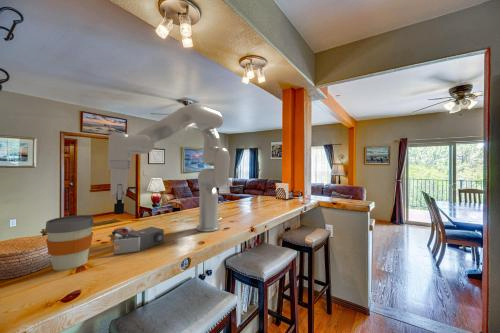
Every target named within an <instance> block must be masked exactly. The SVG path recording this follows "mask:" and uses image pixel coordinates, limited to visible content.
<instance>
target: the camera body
mask: <svg viewBox="0 0 500 333" xmlns="http://www.w3.org/2000/svg"><path fill="white" fill-rule="evenodd" d="M164 231H165V230H164V228H159V227H155V226H154V227H153V226H149V227H146V228H141V229H139V230H135V231H134V232H131V233H128V239H130V238H138V237H140V251H139V252H141V251H143V250H146V249H149V248H151V247H154V246H157V245H160V244H162V243H164V242H165V241H164V236H165V235H164V234H165V233H164Z"/></svg>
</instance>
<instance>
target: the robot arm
mask: <svg viewBox="0 0 500 333" xmlns="http://www.w3.org/2000/svg"><path fill="white" fill-rule="evenodd" d="M223 123H224V118H223V115H222V114H221V113H220V112H219V111H217V110H215V109H212V108H209V107H206V106H204V105H201V104H198V103H192V104H188V105H186V106H182V107H180V108H179V109H176V110H175V111H173V112H172V113H170V114H168V115H167V116H165V117H163V118H162V119H159V120H158V121H156V122H154V123H153V124H151V125H150V126H147V127H145V128H144V129H142V130H141V131H138V132H137V133H135V134H128V133H123V132H113V133H110V134H109V135H108V157H107V158H108V161H107V165H108V166H107V167H108V168H107V170H108V171H109V170H111V172H110V197H113V196H114V203H113V205H114V206H113V215H123V214H124V213H125V203H124V199H125V198H124V197H125V196H126V195H127V188H128V171H130V170H132V155H143V154H144V155H145V154H148V153H151V152H152V151H153V150H154V148H155V143H158V142H161V141H163V140H166V139H168V138H171V137H173V136H176V135H177V134H178V133H180V132H181V131H183V129H186V128H187V127H188V126H191V125H192V124H195V125H196V127H197V129H198V130H199V131H200V132H201V134H202V137H203V149H202V162H203V164H204V165H206V166H209V168H204V169H202V170H200V171H199V173H198V175H197V182H198V189H199V190H198V191H199V199H198V201H199V206H198V207H199V208H198V209H199V214H198V215H199V216H198V217H199V218H198V219H199V220H198V221H199V223H198V225H196V227H195V229H196V230H197V231H199V232H205V233H206V232H216V231H218V230H220V229H221V227H222V226H221V225H220V224H219V223H220V222H222V221H223V218H222V217H219V213H218V210H219V206H218V204H219V195H218V194H219V193H218V189H221V188H224V187H225V186H226V185H227V184H228V182H229V178H230V177H229V176H230V167H231V155H230V152H229V150H228V149H227V148H225V147H221V136H220V134H219V132H218V131H217V129H220V128H221V127H222V126H223ZM211 167H213V168H211ZM217 188H218V189H217ZM218 217H219V218H218Z"/></svg>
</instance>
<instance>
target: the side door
mask: <svg viewBox="0 0 500 333" xmlns="http://www.w3.org/2000/svg"><path fill="white" fill-rule="evenodd" d="M134 252H141V251H140V237H138V238H130V239H120V240H115V239H114V240H113V255H119V254H127V253H134Z"/></svg>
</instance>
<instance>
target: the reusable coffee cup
mask: <svg viewBox="0 0 500 333" xmlns="http://www.w3.org/2000/svg"><path fill="white" fill-rule="evenodd" d="M94 224H95V222H94V216H92V215H88V214H78V215H77V214H76V215H68V216H61V217H56V218H52V219H49V220H46V223H45V230H44V232H45V233H46V237H47V238H46V240H45V241H46V246H47V253H48V255H49V256H50V259H51V266H52V269H53V270H54V271H66V270H71V269H76V268H78V267H81V266H84V265H85V264H86V263H87V262H88V257H89V250H90V248H91V247H92V241H93V235H94V232H93V226H94Z"/></svg>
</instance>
